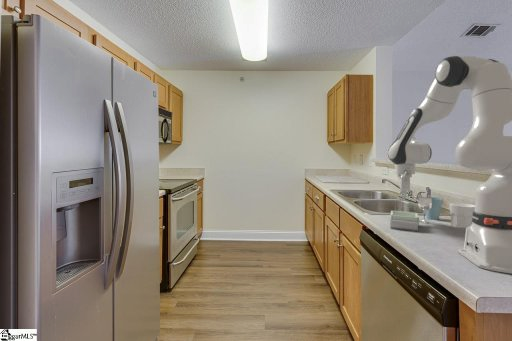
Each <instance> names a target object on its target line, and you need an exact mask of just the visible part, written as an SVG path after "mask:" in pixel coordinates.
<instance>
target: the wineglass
mask: <svg viewBox="0 0 512 341" xmlns="http://www.w3.org/2000/svg"><path fill="white" fill-rule="evenodd" d="M429 197H430V196H428V197H427V196H419V199H418V202H417V203H418V208H419V209H420V210H421V211H423V220H419V223H421V224H430V222H429V221H427V220H426V211H428V210H430V209H431V208H432V200H431V198H429Z"/></svg>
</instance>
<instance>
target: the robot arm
mask: <svg viewBox="0 0 512 341" xmlns="http://www.w3.org/2000/svg"><path fill="white" fill-rule="evenodd" d="M434 76H435V78H434V80H433V81H432V83H431V85H430V86H429V88H428V91H427V93H426V95H425V97H424V99H423V101H422V102H421V104H420V105H419V106H418V107H417V108H415V109H413V111H412V112H411V113H410V114H409V116H408V117H407V119H406V121H405V123H404V124H403V126H402V128H401V130H400V132H399V133H398V135H397V136H396V138H395V140H394V141H393V142H392V144H391V145H390V146H389V147H388V150H387V156H388V159H389V160H390V161H391V163H393V164H394V174H396V175H397V177H398V187H399V190H400V192H401V199H402V200H406V199H407V193H408V192H410V189H411V178H412V176H413V175H415V174H416V164H417V165H421V164H427V163H428V162H429V161H430V160H431V158H432V155H433V154H432V153H433V152H432V148H431V146H430V145H429V144H428V143H424V142H421V141H419V140H417V139H416V137H415V134H416V133H417V131H418V130H419V129H420V128H422V127H423V126H425V125H427V124H430V123H434V122H437V121H438V122H439V121H441V120H443V119H445V118H447V117H448V116H449V115H450V114H451V113H452V111H453V110H454V108H455V105H456V104H457V101H458V98H459V96H460V94H461V92H462V91H463V90H470V92H471V93H470V94H471V95H470V96H471V104H472V105H471V106H472V126H471V127H470V130H469V131H468V134H467V135H466V136H465V137H464V138H462V139H461V140H460V141H459V142H458V144H457V145H456V147H455V150H454V156H455V160H456V162H457V163H458V164H459V165H460V167H463V168H466V169H471V170H476V171H492V172H491V175H490V176H489V178H488V179H487V180H486V181H485V182H482V183H481V184H479V185H478V186H477V187H476V189H475V196H474V205H475V210H474V211H473V215H472V222H473V223H472V225H471V226H469V227H468V228H465V235H464V245H463V248H458V250H457V252H458V253H459V254H460V255H462V256H463V257H464V258H466V259H467V260H468V261H469V262H471V263H472V264H474V265H475V266H476V267H478V268H481V269H485V270H488V271H494V272H498V273H505V274H511V275H512V135H504V127H505V125H508V123H510V122H512V77H511V73H510V71H509V69H508V67H507V65H505V63H503V62H500V61H498V60H496V59H492V58H485V57H484V58H483V57H476V56H471V55H470V56H468V55H467V56H464V55H463V56H458V55H452V56H448V57H447V56H446V57H445V58H443V59H442V60H441V61H440V62H439V63H438V65H437V66H436V69H435V72H434Z"/></svg>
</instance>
